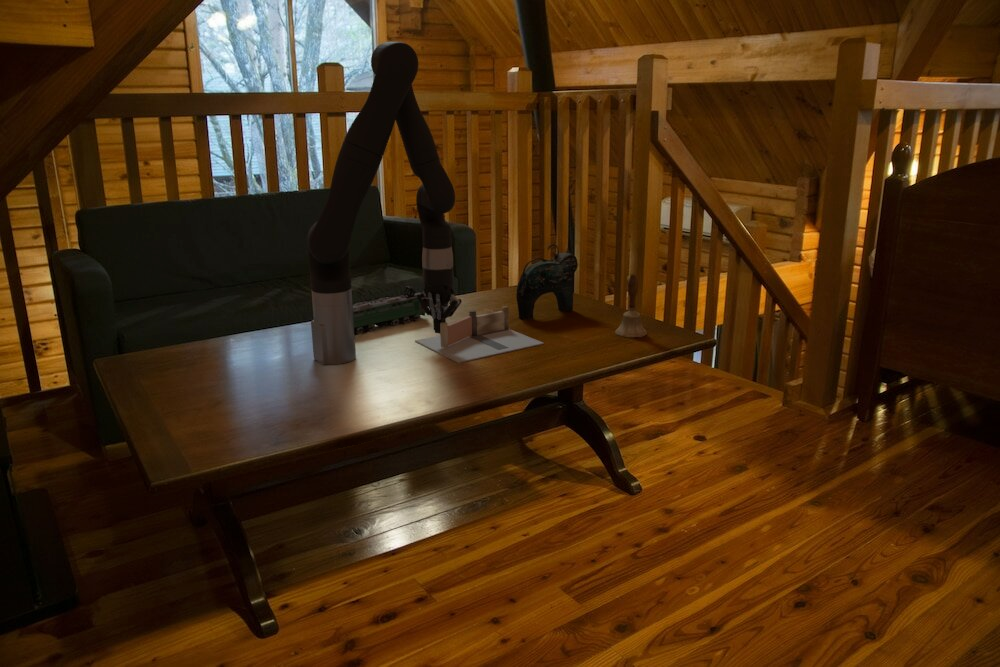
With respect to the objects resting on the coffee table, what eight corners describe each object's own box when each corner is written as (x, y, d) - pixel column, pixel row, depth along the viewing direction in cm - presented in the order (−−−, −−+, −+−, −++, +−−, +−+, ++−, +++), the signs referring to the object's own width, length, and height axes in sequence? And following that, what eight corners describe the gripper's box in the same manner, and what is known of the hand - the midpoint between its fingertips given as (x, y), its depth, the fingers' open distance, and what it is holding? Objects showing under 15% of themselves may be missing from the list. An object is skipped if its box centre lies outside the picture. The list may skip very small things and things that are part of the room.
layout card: (458, 363, 185) (458, 361, 185) (415, 341, 201) (415, 340, 201) (543, 344, 199) (543, 342, 199) (496, 325, 215) (496, 323, 215)
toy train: (431, 319, 222) (430, 284, 219) (334, 341, 203) (331, 303, 200) (421, 315, 226) (419, 281, 223) (324, 337, 206) (322, 300, 203)
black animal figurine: (567, 306, 234) (568, 239, 228) (581, 311, 229) (583, 243, 223) (513, 316, 223) (513, 247, 217) (526, 322, 218) (526, 251, 212)
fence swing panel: (467, 334, 205) (466, 312, 203) (473, 335, 204) (472, 313, 202) (439, 346, 194) (438, 323, 193) (445, 347, 194) (444, 324, 192)
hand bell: (647, 338, 203) (651, 278, 198) (615, 337, 204) (617, 277, 199) (645, 329, 211) (648, 271, 206) (614, 328, 212) (616, 270, 207)
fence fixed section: (471, 336, 204) (471, 312, 202) (468, 335, 205) (467, 311, 204) (509, 328, 211) (509, 305, 209) (506, 327, 212) (505, 304, 210)
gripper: (407, 264, 192) (410, 332, 197) (449, 271, 185) (451, 341, 190) (426, 259, 198) (429, 325, 203) (468, 265, 191) (469, 333, 196)
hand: (439, 332), depth 197 cm, fingers closed
